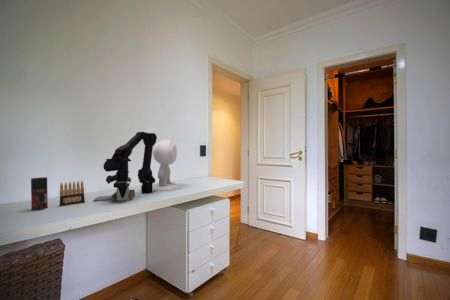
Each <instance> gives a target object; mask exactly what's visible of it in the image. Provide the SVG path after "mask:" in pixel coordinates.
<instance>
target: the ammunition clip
mask: <svg viewBox="0 0 450 300" xmlns="http://www.w3.org/2000/svg"><path fill="white" fill-rule="evenodd" d="M71 182H72V181H69V183H67V182H66V181H65V183H62V182H60V185H59V207H65V206H72V205H78V204H79V205H80V204H85V203H86V201H85V200H86V199H85V187H84V181H83V180H81V181H80V182H79V180H77V183H76V182H75V181H73V182H72V183H71ZM63 184H64V185H63Z"/></svg>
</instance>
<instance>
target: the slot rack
mask: <svg viewBox="0 0 450 300" xmlns="http://www.w3.org/2000/svg"><path fill="white" fill-rule="evenodd" d="M135 192H136V190H135V189H129V202H132V201H133V199H134V198H135V195H136V193H135ZM110 196H111V200H110V201H111V203H114V202H116V201H117V190H115V192H114V193H113V194H112V195H110ZM131 200H132V201H131Z"/></svg>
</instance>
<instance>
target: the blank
mask: <svg viewBox="0 0 450 300" xmlns="http://www.w3.org/2000/svg"><path fill="white" fill-rule="evenodd" d="M129 190H130V187H128V188H127V190H126V193H125V195H124V198H121V195H120V191H119V189H118V188H116V191H117V199H116V201H128V199H129Z"/></svg>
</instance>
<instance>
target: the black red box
mask: <svg viewBox="0 0 450 300" xmlns="http://www.w3.org/2000/svg"><path fill="white" fill-rule="evenodd" d="M30 194H31V195H30V197H31V198H30V200H31V201H30V202H31V211H42V210H43V211H44V210H46V209H48V208H49V206H48V202H49V201H48V177H46V176H45V177H43V176H42V177H41V176H40V177H31V178H30Z"/></svg>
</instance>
